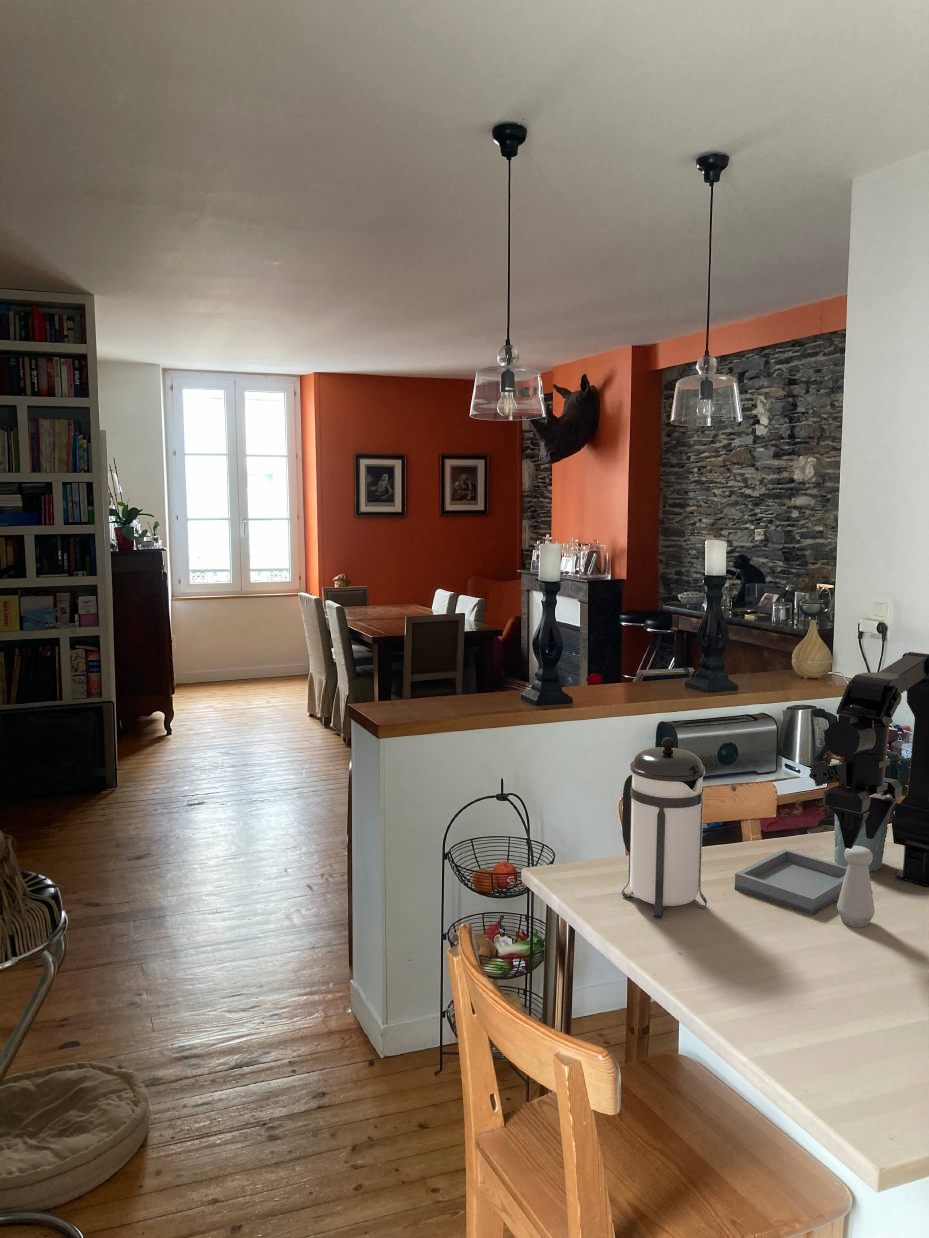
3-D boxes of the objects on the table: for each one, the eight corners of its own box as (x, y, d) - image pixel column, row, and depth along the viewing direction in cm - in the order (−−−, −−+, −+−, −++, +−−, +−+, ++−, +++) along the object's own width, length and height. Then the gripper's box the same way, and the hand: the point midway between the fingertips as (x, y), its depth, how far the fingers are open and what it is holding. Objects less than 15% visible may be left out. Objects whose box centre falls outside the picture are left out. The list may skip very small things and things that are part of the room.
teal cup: (825, 852, 185) (828, 795, 184) (878, 854, 184) (881, 797, 183) (839, 871, 176) (842, 811, 174) (894, 874, 174) (898, 814, 173)
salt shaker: (877, 931, 151) (881, 856, 149) (840, 928, 152) (844, 853, 150) (868, 916, 157) (873, 843, 155) (833, 913, 158) (837, 840, 156)
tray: (783, 863, 180) (784, 848, 179) (859, 886, 169) (860, 870, 168) (734, 888, 168) (735, 873, 167) (812, 915, 157) (813, 899, 156)
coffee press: (714, 890, 167) (720, 730, 163) (698, 926, 153) (703, 752, 149) (622, 874, 174) (625, 721, 171) (598, 907, 160) (600, 741, 156)
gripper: (841, 737, 164) (834, 822, 165) (796, 747, 151) (788, 840, 152) (907, 748, 156) (898, 838, 157) (865, 761, 143) (855, 858, 144)
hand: (859, 843), depth 153 cm, fingers open, 9 cm apart
